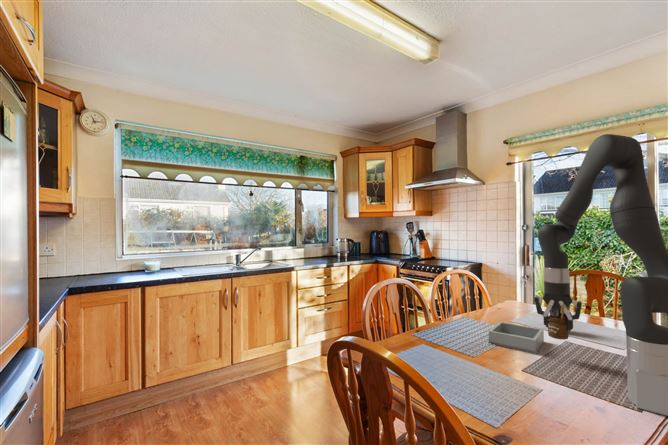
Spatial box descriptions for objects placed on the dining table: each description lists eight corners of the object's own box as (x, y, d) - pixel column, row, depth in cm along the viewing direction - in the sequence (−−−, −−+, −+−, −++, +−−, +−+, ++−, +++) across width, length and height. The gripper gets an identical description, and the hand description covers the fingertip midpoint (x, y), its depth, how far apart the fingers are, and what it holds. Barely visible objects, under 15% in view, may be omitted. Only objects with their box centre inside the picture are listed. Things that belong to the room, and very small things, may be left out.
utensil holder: (559, 334, 113) (558, 300, 113) (573, 340, 106) (572, 304, 107) (544, 334, 112) (542, 301, 113) (557, 340, 106) (555, 305, 107)
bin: (535, 354, 114) (535, 340, 114) (488, 343, 125) (488, 331, 125) (543, 341, 125) (543, 329, 125) (500, 333, 136) (500, 321, 136)
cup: (553, 333, 135) (552, 305, 135) (546, 328, 142) (545, 301, 142) (574, 335, 132) (573, 306, 133) (566, 329, 140) (565, 302, 140)
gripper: (530, 279, 112) (532, 327, 111) (581, 283, 102) (583, 335, 102) (534, 277, 118) (536, 322, 117) (583, 281, 108) (585, 330, 107)
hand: (558, 328), depth 109 cm, fingers closed on utensil holder, 5 cm apart
